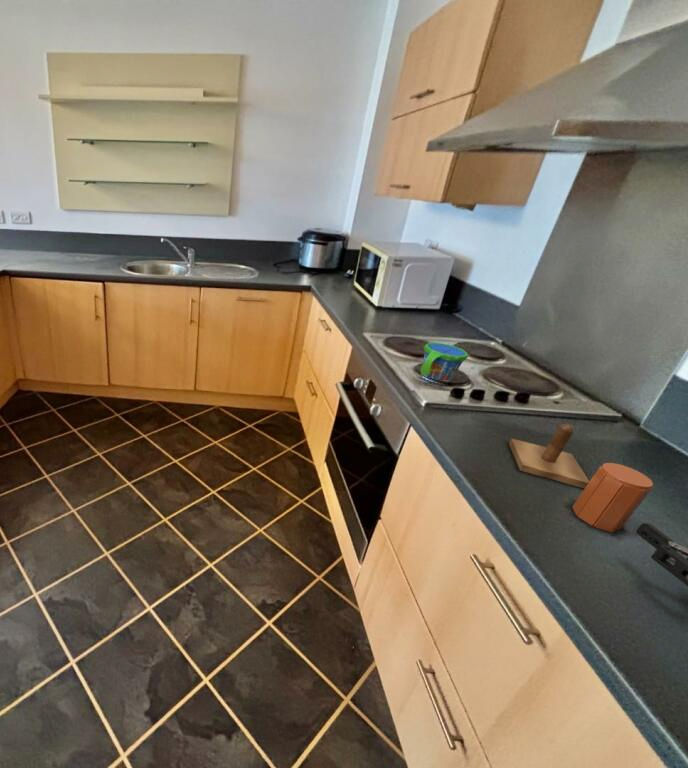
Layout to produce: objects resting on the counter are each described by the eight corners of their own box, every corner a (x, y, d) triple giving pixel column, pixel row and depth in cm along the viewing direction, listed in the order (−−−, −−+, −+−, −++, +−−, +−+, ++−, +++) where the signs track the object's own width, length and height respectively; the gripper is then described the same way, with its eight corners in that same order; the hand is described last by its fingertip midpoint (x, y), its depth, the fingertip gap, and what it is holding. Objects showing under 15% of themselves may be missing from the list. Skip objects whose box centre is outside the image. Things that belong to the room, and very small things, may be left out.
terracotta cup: (610, 513, 76) (642, 470, 71) (625, 536, 70) (661, 491, 66) (568, 500, 78) (596, 458, 73) (579, 522, 73) (611, 478, 68)
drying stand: (568, 459, 90) (593, 419, 85) (586, 489, 81) (615, 447, 77) (508, 443, 94) (529, 405, 89) (519, 470, 85) (543, 429, 81)
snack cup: (435, 370, 129) (447, 339, 125) (467, 385, 121) (482, 353, 116) (400, 376, 123) (411, 344, 119) (432, 392, 115) (446, 359, 110)
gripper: (894, 614, 48) (727, 511, 62) (780, 611, 47) (637, 508, 62) (841, 652, 51) (694, 546, 66) (734, 649, 51) (610, 543, 65)
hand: (667, 528), depth 64 cm, fingers open, 8 cm apart
